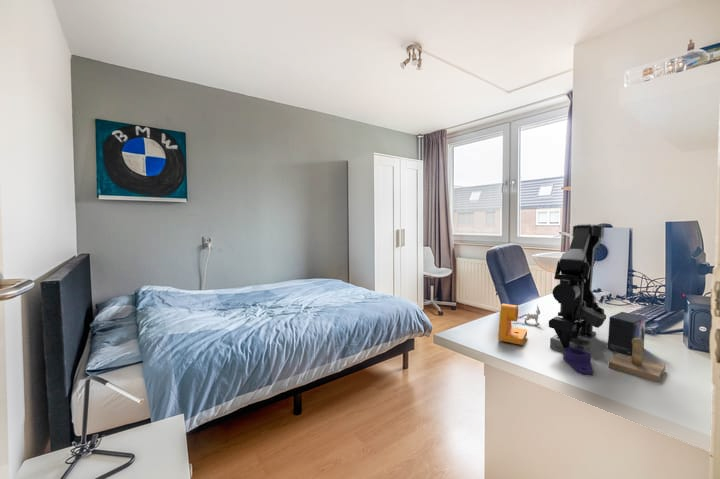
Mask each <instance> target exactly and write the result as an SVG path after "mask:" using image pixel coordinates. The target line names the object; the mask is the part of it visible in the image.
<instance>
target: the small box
mask: <svg viewBox="0 0 720 479" xmlns="http://www.w3.org/2000/svg"><path fill="white" fill-rule="evenodd" d="M646 318H647V316H644V315H643V316H642V315H639V314H633V313H629V312H626V311H621V312H619V313H616V314H613V315H611V316H609V321H608V335H607V336H608V339H607V347H606V348H607V350H612V351H615V352H617V353H618V352H619V353H620V354H623V355H627V356H632V346H633V344H632V339H633V338H640V339H641V340H643V342H644V344H643V347H642V350H643V349H644V347H645V336H646V335H645V332H646V322H647V321H646Z"/></svg>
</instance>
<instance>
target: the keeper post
mask: <svg viewBox="0 0 720 479" xmlns="http://www.w3.org/2000/svg"><path fill="white" fill-rule="evenodd" d="M632 344H633V346H632V355H628V354H624V353H620V352H619V353H618V352H617V353H616V354H614V356H613V357H612V358H611V360H610V359H609V361H608V368H610V369H612V370H617V371H620V372H623V373H627V374H630V375H632V376H633V375H634V376H637V377H640V378H644V379H646V380H651V381H654V382H657V383H659V382H660V381H661V380H662V376H663V375H664V373H665V372H666V365H664V364H660V363H656V362H654V361H653V362H652V361H648V360H645V359H643V349H642V347H643V344H644V345H645V341H644V342H643V340H641V339H640V338H633V339H632ZM664 371H665V372H664Z"/></svg>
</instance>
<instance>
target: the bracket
mask: <svg viewBox="0 0 720 479" xmlns="http://www.w3.org/2000/svg"><path fill="white" fill-rule="evenodd" d="M518 317H519V305H517V304H509V303H501V306H500V313H499V323H498V324H499V325H498V332H497V334H498V335H497V340H498V341H502V342H506V343H511V344H515V345H524V344H525V343H526V341H527V336H528V330H527V329H526V328H521V327H520V328H519V327H515V326H512V322H518V319H519V318H518Z"/></svg>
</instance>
